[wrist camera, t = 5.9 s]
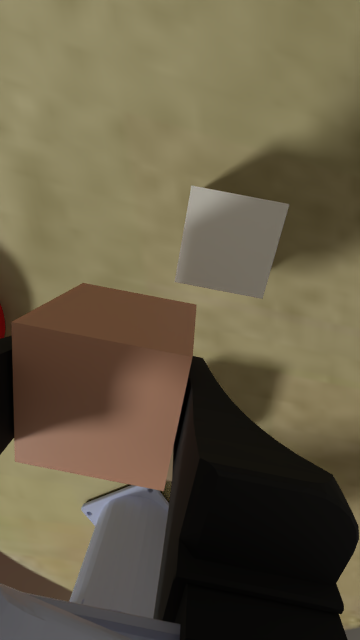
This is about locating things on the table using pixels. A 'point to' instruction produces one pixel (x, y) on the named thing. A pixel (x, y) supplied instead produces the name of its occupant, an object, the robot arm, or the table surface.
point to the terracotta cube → (101, 383)
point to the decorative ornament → (2, 323)
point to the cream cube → (229, 241)
